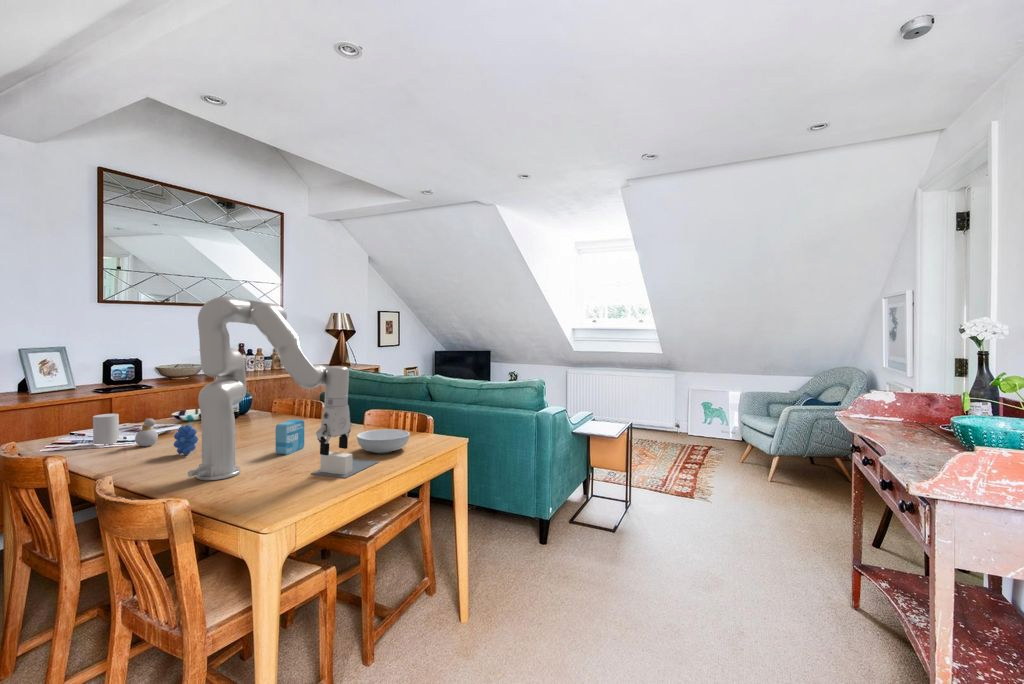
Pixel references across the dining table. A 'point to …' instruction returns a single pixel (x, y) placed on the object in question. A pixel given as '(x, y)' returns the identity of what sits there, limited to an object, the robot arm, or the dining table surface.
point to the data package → (289, 436)
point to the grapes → (185, 439)
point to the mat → (356, 467)
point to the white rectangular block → (336, 463)
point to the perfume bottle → (147, 434)
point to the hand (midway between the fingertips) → (333, 451)
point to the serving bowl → (383, 440)
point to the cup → (105, 428)
